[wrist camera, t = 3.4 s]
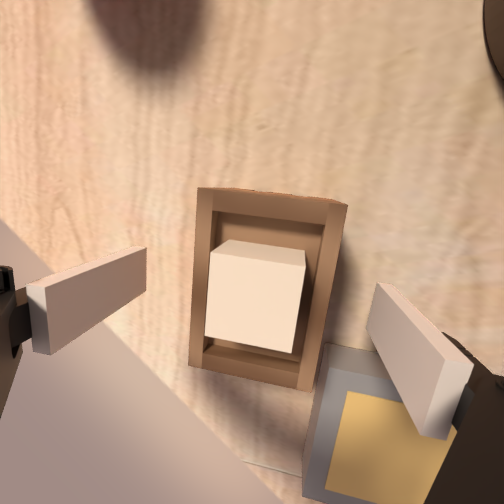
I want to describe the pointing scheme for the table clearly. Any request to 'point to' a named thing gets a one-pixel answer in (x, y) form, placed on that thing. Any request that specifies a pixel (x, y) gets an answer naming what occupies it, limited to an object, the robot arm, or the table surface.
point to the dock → (365, 436)
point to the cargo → (254, 294)
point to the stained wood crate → (275, 234)
